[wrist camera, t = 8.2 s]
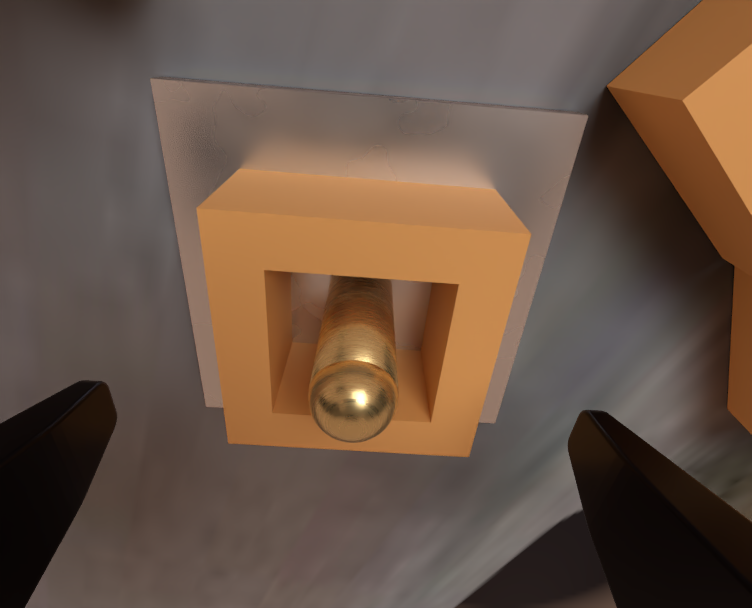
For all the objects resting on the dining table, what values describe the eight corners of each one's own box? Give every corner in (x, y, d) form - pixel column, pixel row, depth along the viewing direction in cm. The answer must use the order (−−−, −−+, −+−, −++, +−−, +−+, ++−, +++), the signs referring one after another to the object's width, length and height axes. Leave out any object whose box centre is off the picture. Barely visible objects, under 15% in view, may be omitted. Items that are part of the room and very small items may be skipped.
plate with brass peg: (578, 111, 11) (761, 175, 6) (491, 410, 16) (544, 585, 11) (161, 76, 10) (-50, 109, 5) (211, 394, 15) (130, 567, 10)
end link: (495, 189, 11) (531, 234, 8) (452, 382, 14) (468, 457, 12) (239, 168, 11) (196, 207, 8) (255, 370, 14) (228, 443, 11)
